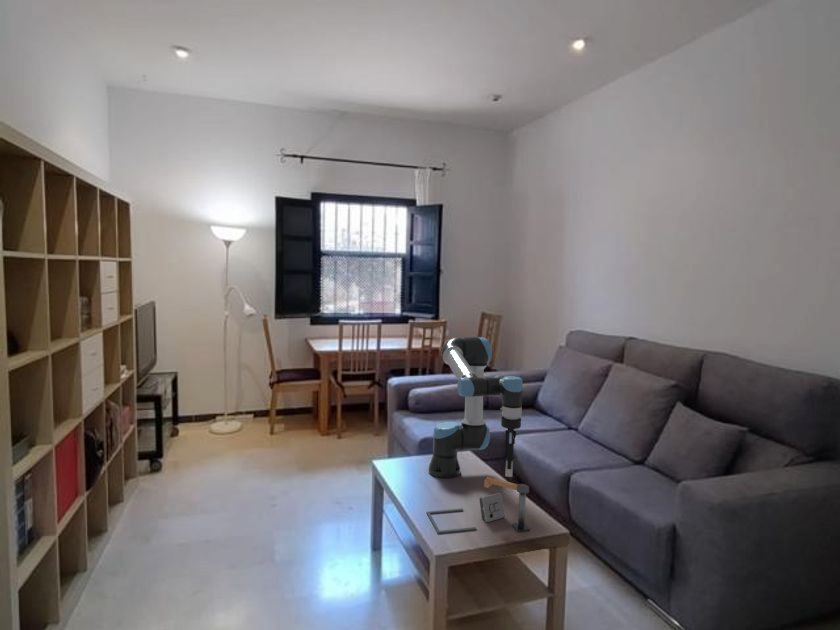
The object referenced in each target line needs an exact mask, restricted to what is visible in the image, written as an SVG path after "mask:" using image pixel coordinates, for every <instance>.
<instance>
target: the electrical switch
mask: <svg viewBox="0 0 840 630" xmlns="http://www.w3.org/2000/svg"><path fill="white" fill-rule="evenodd" d="M478 499H479V505H480V512H481V513H480V514H481V519H482V520H484V522H486V523H489V522H493V521H497V520H500V519H504V518H505V510H504V509H505V508H504V501H503V494H502V493H501V492H497V493H493V494H489V495H485V496H482V497H481V496H480V497H479V498H478Z"/></svg>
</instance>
